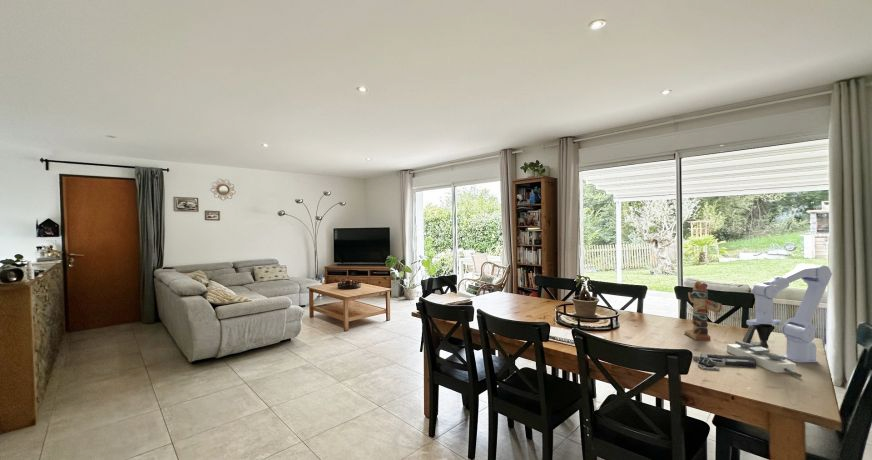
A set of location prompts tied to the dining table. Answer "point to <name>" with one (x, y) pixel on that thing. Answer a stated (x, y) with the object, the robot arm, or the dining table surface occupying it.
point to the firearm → (723, 361)
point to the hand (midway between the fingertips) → (763, 340)
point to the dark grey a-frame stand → (749, 336)
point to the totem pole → (701, 311)
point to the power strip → (764, 360)
